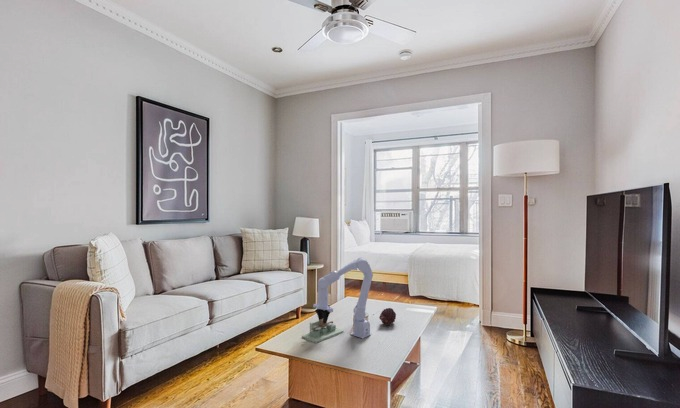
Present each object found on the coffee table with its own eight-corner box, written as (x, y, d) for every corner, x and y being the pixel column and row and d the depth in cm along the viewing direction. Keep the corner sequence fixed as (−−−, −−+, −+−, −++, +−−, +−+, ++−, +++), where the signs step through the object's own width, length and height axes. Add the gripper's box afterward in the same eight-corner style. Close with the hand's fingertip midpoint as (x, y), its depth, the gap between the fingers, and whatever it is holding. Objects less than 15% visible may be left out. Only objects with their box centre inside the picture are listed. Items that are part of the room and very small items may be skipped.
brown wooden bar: (335, 323, 209) (335, 317, 209) (315, 331, 198) (315, 323, 198) (329, 322, 213) (329, 315, 212) (309, 329, 201) (309, 322, 201)
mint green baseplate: (343, 332, 209) (343, 320, 209) (316, 343, 193) (316, 330, 193) (329, 327, 217) (329, 316, 217) (301, 337, 201) (301, 325, 201)
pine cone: (385, 318, 234) (385, 303, 234) (400, 321, 229) (400, 305, 229) (375, 327, 218) (375, 310, 218) (391, 329, 213) (391, 313, 213)
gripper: (309, 297, 207) (309, 320, 207) (326, 302, 197) (326, 326, 197) (318, 295, 212) (318, 318, 213) (335, 300, 203) (335, 323, 203)
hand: (323, 322), depth 205 cm, fingers closed on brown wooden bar, 3 cm apart
